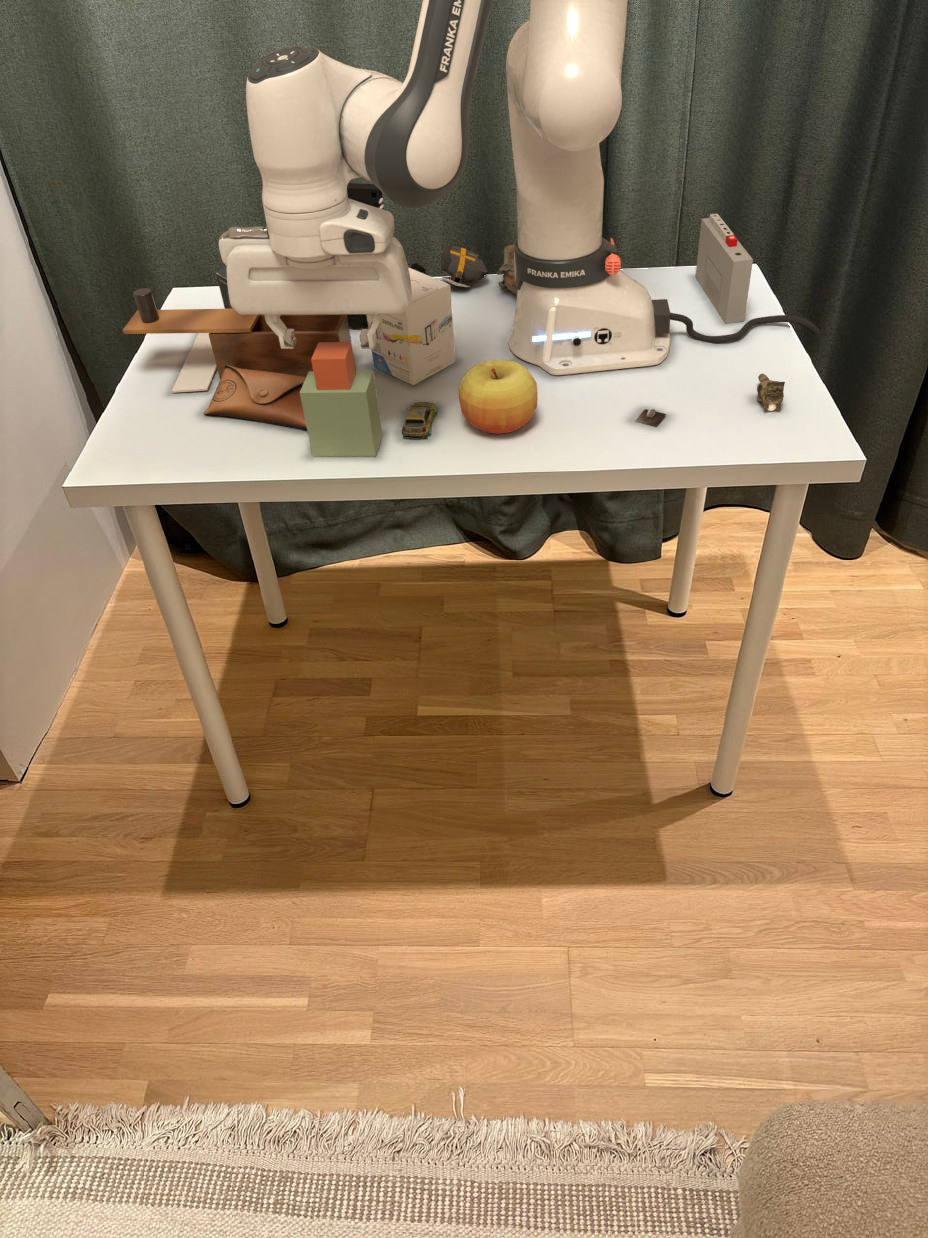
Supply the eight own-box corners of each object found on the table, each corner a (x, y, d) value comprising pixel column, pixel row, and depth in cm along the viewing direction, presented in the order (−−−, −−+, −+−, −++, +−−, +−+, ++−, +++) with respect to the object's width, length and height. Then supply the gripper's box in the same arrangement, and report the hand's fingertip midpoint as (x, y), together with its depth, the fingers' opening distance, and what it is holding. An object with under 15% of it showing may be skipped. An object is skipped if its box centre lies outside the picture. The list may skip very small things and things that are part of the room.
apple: (458, 445, 118) (453, 387, 113) (462, 403, 125) (458, 347, 120) (538, 443, 118) (537, 384, 112) (537, 401, 125) (536, 344, 119)
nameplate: (172, 393, 132) (207, 390, 132) (171, 390, 132) (207, 388, 132) (206, 320, 148) (237, 318, 148) (205, 318, 148) (237, 316, 147)
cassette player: (743, 321, 137) (754, 252, 130) (725, 323, 137) (734, 254, 130) (712, 275, 148) (720, 209, 141) (695, 277, 148) (702, 211, 141)
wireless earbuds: (410, 290, 150) (437, 286, 153) (410, 274, 149) (437, 270, 151) (387, 276, 155) (414, 272, 157) (388, 260, 153) (414, 256, 155)
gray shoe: (447, 231, 157) (440, 255, 159) (442, 262, 145) (434, 287, 147) (490, 246, 158) (482, 269, 160) (488, 278, 146) (480, 302, 149)
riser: (382, 434, 121) (373, 370, 115) (375, 456, 118) (366, 391, 112) (320, 434, 122) (308, 370, 116) (312, 456, 119) (299, 392, 113)
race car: (439, 406, 125) (438, 389, 124) (429, 440, 120) (427, 423, 118) (412, 406, 126) (410, 389, 124) (400, 439, 120) (398, 422, 118)
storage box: (354, 358, 136) (346, 311, 132) (346, 379, 132) (338, 332, 127) (232, 359, 138) (220, 313, 134) (220, 380, 134) (208, 334, 129)
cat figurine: (763, 417, 118) (767, 385, 116) (748, 396, 125) (751, 365, 123) (786, 416, 118) (790, 383, 116) (769, 394, 124) (773, 364, 122)
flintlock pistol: (563, 285, 142) (495, 284, 142) (561, 308, 144) (495, 307, 144) (559, 238, 156) (498, 237, 156) (558, 260, 158) (497, 259, 158)
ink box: (371, 367, 134) (360, 286, 126) (415, 344, 138) (407, 264, 130) (413, 386, 129) (404, 304, 121) (457, 362, 134) (451, 281, 126)
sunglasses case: (198, 414, 127) (200, 362, 125) (226, 414, 133) (229, 365, 132) (320, 431, 122) (324, 378, 120) (344, 430, 128) (348, 379, 127)
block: (356, 372, 115) (351, 341, 112) (350, 389, 112) (344, 358, 109) (323, 372, 116) (318, 342, 113) (316, 389, 113) (310, 358, 110)
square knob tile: (656, 427, 119) (656, 418, 118) (634, 421, 120) (634, 413, 119) (666, 414, 120) (666, 406, 119) (645, 408, 121) (645, 400, 120)
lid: (262, 311, 133) (255, 279, 130) (251, 332, 128) (243, 299, 125) (138, 313, 135) (128, 282, 132) (123, 334, 131) (112, 301, 127)
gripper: (206, 238, 100) (234, 359, 109) (399, 236, 98) (410, 360, 107) (222, 215, 105) (248, 333, 114) (407, 213, 102) (418, 333, 112)
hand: (328, 346), depth 111 cm, fingers open, 8 cm apart
